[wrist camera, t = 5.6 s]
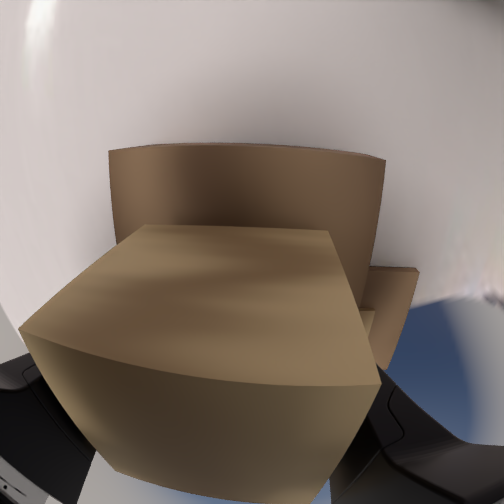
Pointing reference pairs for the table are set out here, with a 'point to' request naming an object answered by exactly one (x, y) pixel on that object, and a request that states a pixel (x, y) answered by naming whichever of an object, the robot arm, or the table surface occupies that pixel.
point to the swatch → (386, 308)
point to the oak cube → (212, 359)
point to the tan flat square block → (253, 192)
